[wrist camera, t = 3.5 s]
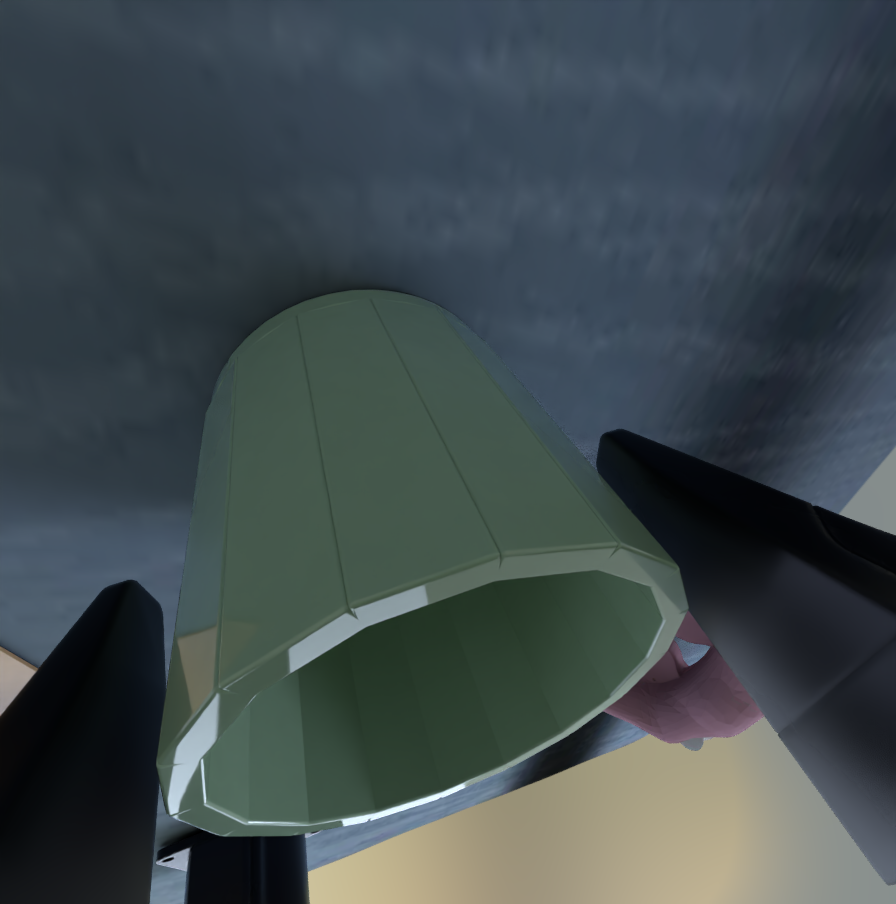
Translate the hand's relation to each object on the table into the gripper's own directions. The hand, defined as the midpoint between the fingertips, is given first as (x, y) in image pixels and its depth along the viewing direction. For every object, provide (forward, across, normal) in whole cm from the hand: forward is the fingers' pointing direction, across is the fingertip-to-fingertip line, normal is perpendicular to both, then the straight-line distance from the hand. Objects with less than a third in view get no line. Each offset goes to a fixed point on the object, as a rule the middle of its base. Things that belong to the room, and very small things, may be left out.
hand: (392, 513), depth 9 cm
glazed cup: (+3, 0, 0) cm, 3 cm away
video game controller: (+3, -11, +16) cm, 20 cm away
